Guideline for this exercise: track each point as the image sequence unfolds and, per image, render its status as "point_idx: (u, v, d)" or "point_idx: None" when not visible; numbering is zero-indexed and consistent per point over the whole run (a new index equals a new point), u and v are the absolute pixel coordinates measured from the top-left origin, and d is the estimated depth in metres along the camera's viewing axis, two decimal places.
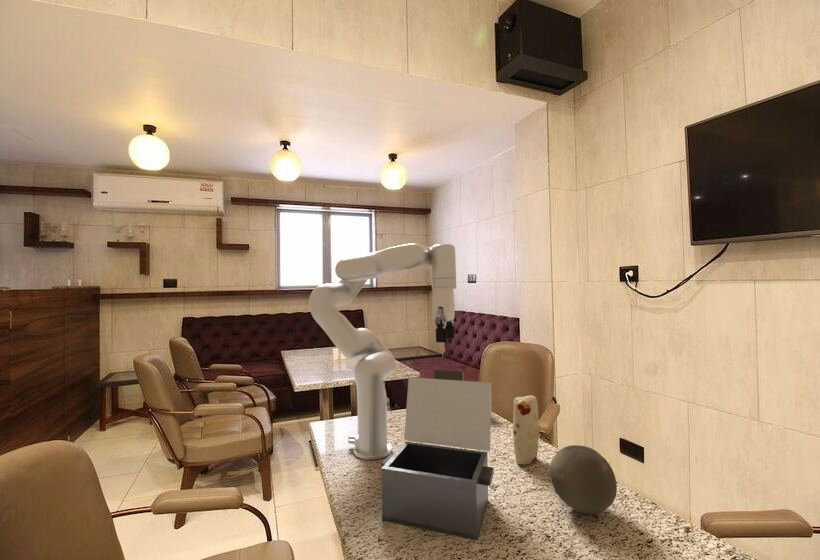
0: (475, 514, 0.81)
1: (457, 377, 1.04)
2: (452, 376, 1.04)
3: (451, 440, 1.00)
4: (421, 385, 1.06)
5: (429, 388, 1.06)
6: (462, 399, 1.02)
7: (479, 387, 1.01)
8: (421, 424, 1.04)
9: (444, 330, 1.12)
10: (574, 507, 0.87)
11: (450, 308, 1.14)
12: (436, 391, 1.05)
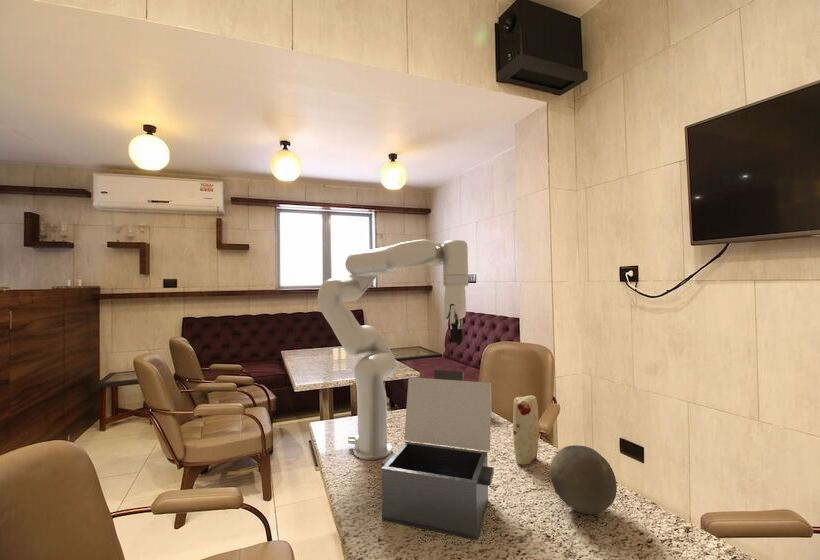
0: (475, 514, 0.81)
1: (457, 377, 1.04)
2: (452, 376, 1.04)
3: (451, 440, 1.00)
4: (421, 385, 1.06)
5: (429, 388, 1.06)
6: (462, 399, 1.02)
7: (479, 387, 1.01)
8: (421, 424, 1.04)
9: (459, 331, 1.14)
10: (574, 507, 0.87)
11: (462, 305, 1.12)
12: (436, 391, 1.05)
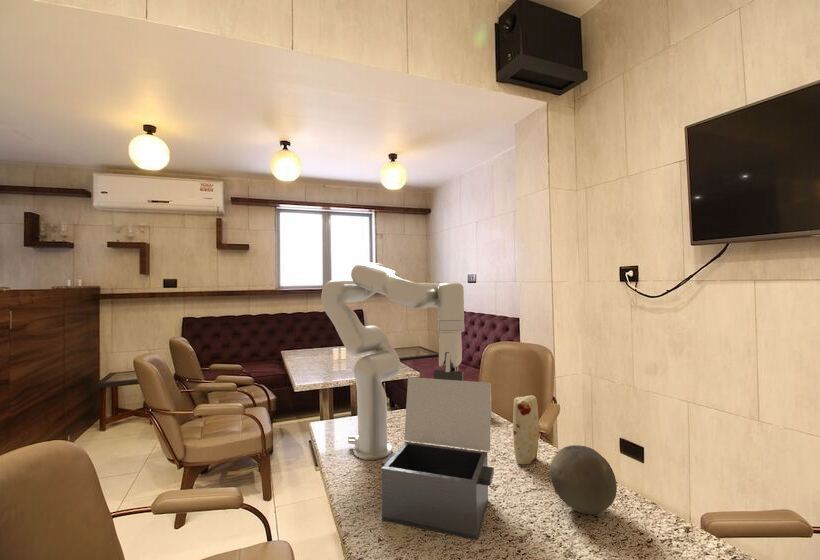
0: (475, 514, 0.81)
1: (457, 377, 1.03)
2: (452, 376, 1.04)
3: (451, 440, 1.00)
4: (421, 385, 1.06)
5: (428, 388, 1.05)
6: (461, 399, 1.02)
7: (479, 387, 1.01)
8: (421, 424, 1.03)
9: None
10: (574, 507, 0.87)
11: (457, 353, 1.06)
12: (436, 391, 1.04)
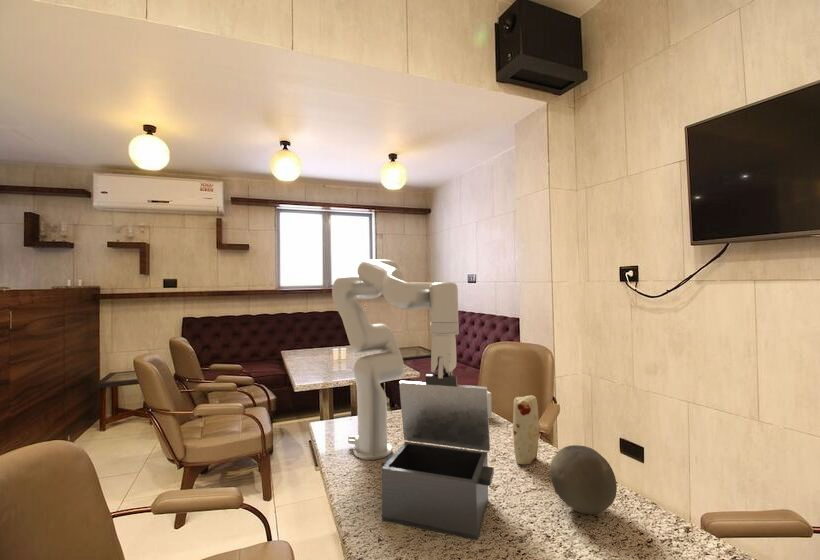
0: (475, 514, 0.81)
1: (450, 383, 0.96)
2: (445, 382, 0.97)
3: (450, 441, 0.99)
4: (413, 390, 1.00)
5: (422, 393, 1.00)
6: (457, 404, 0.97)
7: (474, 393, 0.95)
8: (419, 426, 1.02)
9: None
10: (574, 507, 0.87)
11: (451, 358, 0.98)
12: (430, 396, 0.99)
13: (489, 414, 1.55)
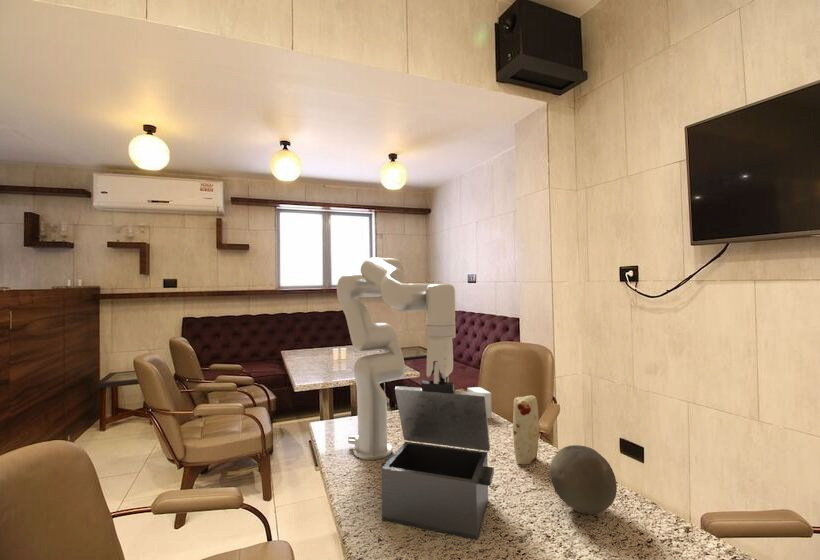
0: (475, 514, 0.81)
1: (447, 390, 0.93)
2: (441, 389, 0.94)
3: (450, 442, 0.99)
4: (410, 396, 0.98)
5: (418, 399, 0.97)
6: (455, 409, 0.95)
7: (472, 400, 0.92)
8: (418, 428, 1.01)
9: None
10: (574, 507, 0.87)
11: (447, 362, 0.95)
12: (427, 402, 0.97)
13: (489, 414, 1.55)
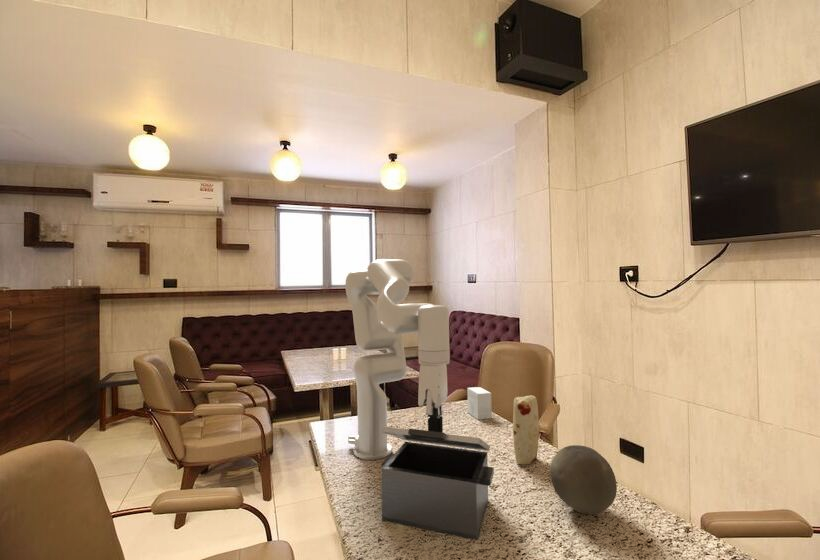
0: (475, 514, 0.81)
1: (438, 438, 0.85)
2: (432, 437, 0.85)
3: (450, 445, 0.98)
4: (400, 434, 0.90)
5: (409, 436, 0.90)
6: (450, 442, 0.89)
7: (466, 442, 0.85)
8: (415, 440, 0.99)
9: (438, 420, 0.90)
10: (574, 507, 0.87)
11: (441, 390, 0.88)
12: (419, 437, 0.90)
13: (489, 414, 1.55)
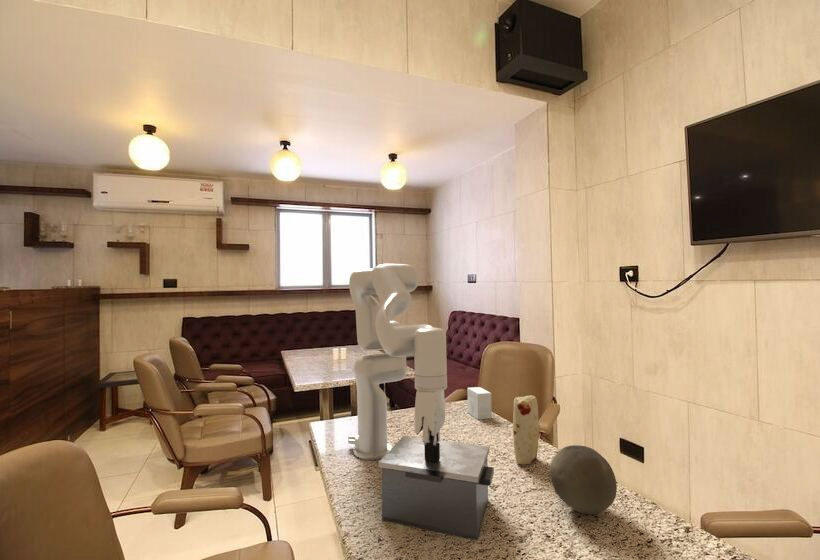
0: (475, 514, 0.81)
1: None
2: None
3: None
4: None
5: None
6: None
7: None
8: None
9: (435, 447, 0.87)
10: (574, 507, 0.87)
11: (438, 417, 0.86)
12: None
13: (489, 414, 1.55)
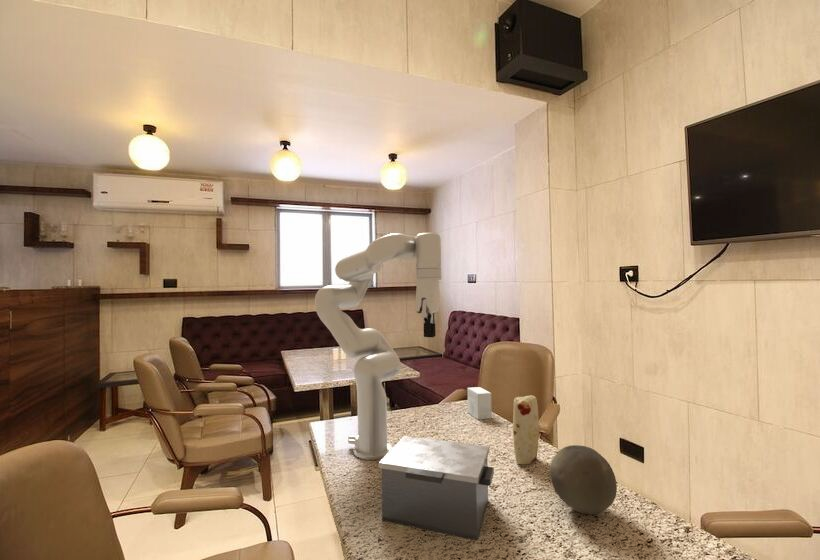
0: (475, 514, 0.81)
1: None
2: None
3: None
4: None
5: None
6: None
7: None
8: None
9: (432, 325, 1.12)
10: (574, 507, 0.87)
11: (434, 299, 1.10)
12: None
13: (489, 414, 1.55)
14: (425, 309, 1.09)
